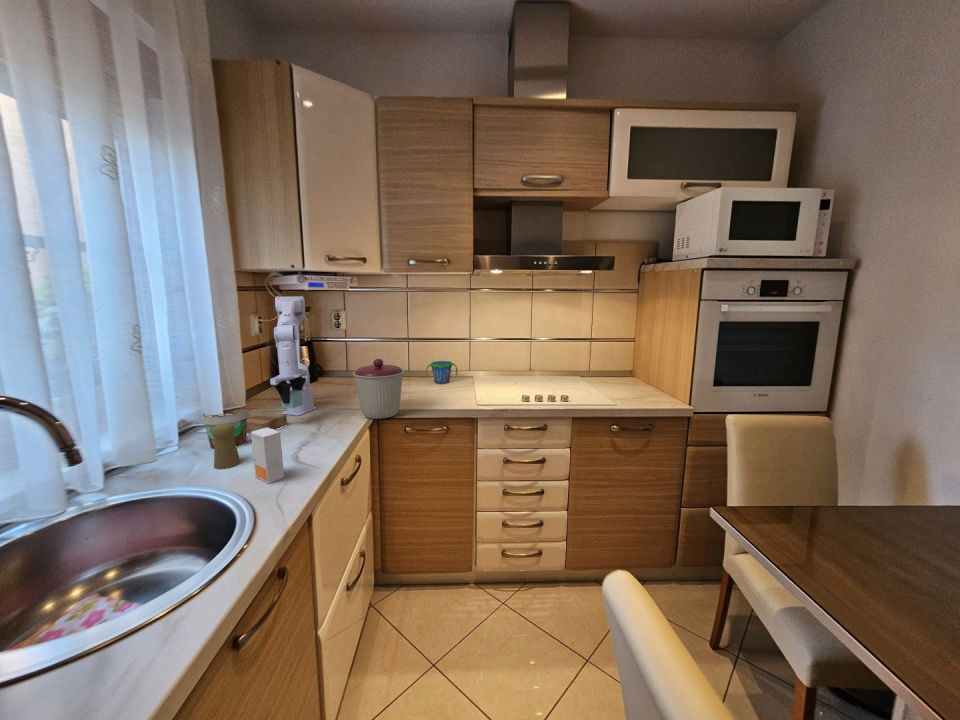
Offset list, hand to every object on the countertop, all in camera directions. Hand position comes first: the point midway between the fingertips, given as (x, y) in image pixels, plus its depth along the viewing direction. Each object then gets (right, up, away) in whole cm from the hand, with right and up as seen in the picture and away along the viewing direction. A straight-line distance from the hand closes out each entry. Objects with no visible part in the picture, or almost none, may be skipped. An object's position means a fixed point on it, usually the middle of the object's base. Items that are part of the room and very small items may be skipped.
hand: (291, 401), depth 133 cm
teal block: (0, -2, 0) cm, 2 cm away
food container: (-12, -12, -16) cm, 23 cm away
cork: (-4, -14, -28) cm, 31 cm away
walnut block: (-9, -9, 0) cm, 13 cm away
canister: (+26, -7, +14) cm, 31 cm away
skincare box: (+11, -15, -35) cm, 40 cm away
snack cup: (+44, +2, +65) cm, 79 cm away
